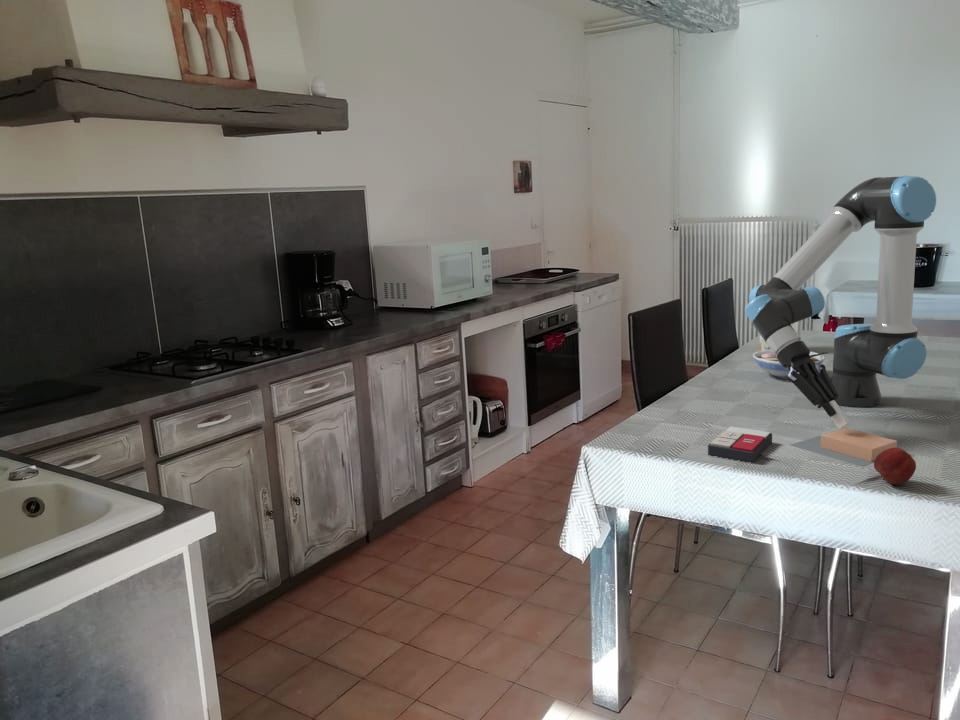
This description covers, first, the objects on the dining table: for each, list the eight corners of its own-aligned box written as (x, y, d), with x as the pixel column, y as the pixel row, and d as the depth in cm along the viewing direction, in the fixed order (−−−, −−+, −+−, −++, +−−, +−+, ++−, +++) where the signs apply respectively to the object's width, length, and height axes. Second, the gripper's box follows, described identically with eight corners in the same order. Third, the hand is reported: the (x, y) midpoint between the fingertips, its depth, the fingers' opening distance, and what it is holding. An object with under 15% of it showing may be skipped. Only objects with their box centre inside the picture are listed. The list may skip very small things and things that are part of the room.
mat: (834, 434, 196) (834, 431, 196) (907, 453, 180) (907, 450, 180) (789, 447, 187) (789, 444, 187) (861, 469, 171) (862, 466, 171)
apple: (908, 492, 157) (911, 456, 156) (868, 484, 162) (870, 448, 161) (917, 482, 163) (920, 446, 161) (877, 474, 168) (880, 439, 166)
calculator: (707, 442, 183) (728, 423, 194) (707, 459, 184) (728, 439, 196) (753, 450, 176) (772, 430, 188) (753, 467, 177) (772, 446, 189)
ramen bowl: (781, 365, 274) (782, 343, 272) (840, 377, 255) (841, 353, 253) (735, 376, 261) (736, 353, 259) (793, 388, 242) (794, 363, 240)
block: (845, 427, 188) (897, 440, 177) (845, 439, 189) (896, 453, 178) (820, 435, 183) (872, 449, 172) (820, 447, 184) (871, 462, 173)
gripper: (795, 353, 200) (850, 428, 189) (762, 360, 193) (817, 438, 183) (814, 336, 194) (872, 412, 184) (781, 342, 187) (839, 422, 177)
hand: (844, 425), depth 183 cm, fingers closed
